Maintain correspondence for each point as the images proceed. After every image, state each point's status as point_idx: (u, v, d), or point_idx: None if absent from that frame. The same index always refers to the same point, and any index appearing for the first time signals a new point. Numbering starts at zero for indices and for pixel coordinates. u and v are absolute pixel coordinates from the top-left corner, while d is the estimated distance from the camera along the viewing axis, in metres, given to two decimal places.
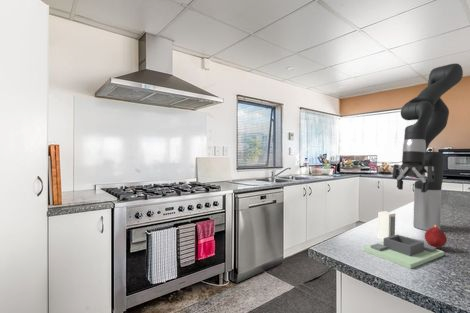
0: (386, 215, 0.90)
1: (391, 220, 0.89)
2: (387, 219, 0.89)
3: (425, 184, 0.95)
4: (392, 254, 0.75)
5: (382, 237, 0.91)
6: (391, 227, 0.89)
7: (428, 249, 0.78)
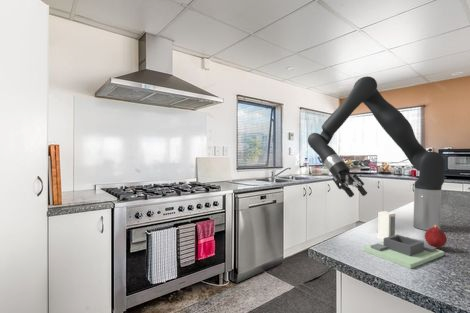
0: (386, 215, 0.90)
1: (391, 220, 0.89)
2: (387, 219, 0.89)
3: None
4: (392, 254, 0.75)
5: (382, 237, 0.91)
6: (391, 227, 0.89)
7: (428, 249, 0.78)
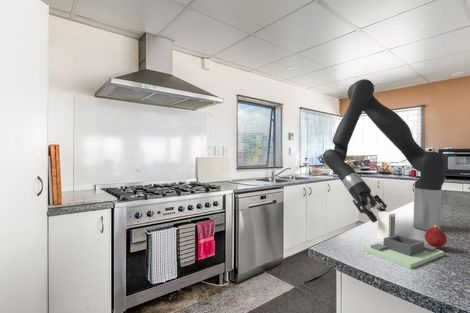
0: (386, 215, 0.90)
1: (391, 220, 0.89)
2: (387, 219, 0.89)
3: None
4: (392, 254, 0.75)
5: (382, 237, 0.91)
6: (391, 227, 0.89)
7: (428, 249, 0.78)
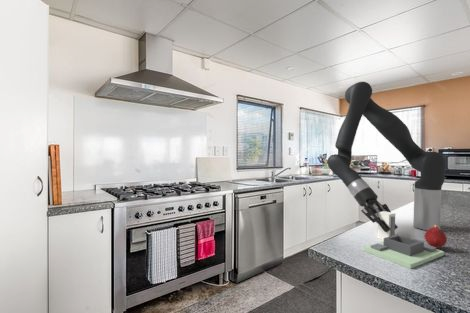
0: (386, 215, 0.90)
1: (391, 220, 0.89)
2: (387, 219, 0.89)
3: None
4: (392, 254, 0.75)
5: (382, 237, 0.91)
6: (391, 227, 0.89)
7: (428, 249, 0.78)
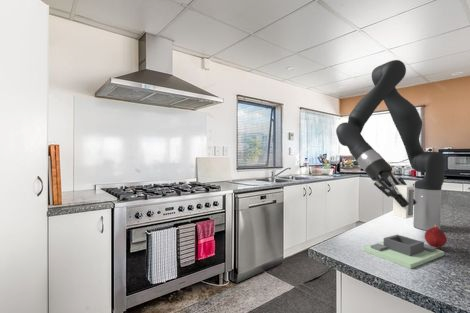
0: (403, 188, 0.77)
1: (409, 193, 0.77)
2: (405, 192, 0.77)
3: (395, 198, 0.78)
4: (392, 254, 0.75)
5: (398, 214, 0.79)
6: (409, 201, 0.77)
7: (428, 249, 0.78)
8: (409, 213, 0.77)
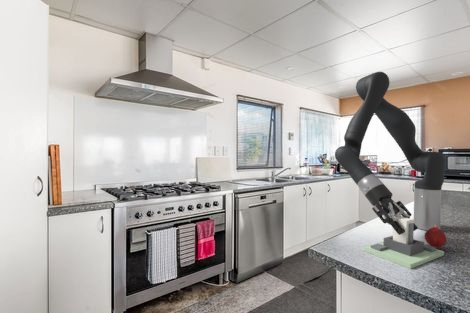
0: (403, 221, 0.77)
1: (409, 227, 0.77)
2: (405, 226, 0.77)
3: None
4: (392, 254, 0.75)
5: None
6: (409, 235, 0.77)
7: (428, 249, 0.78)
8: None
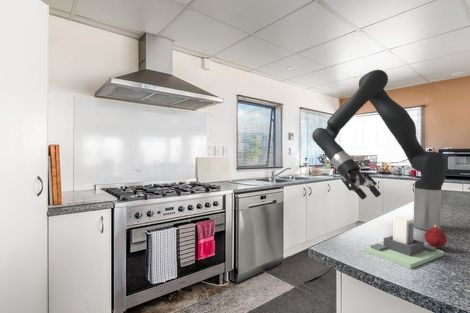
0: (403, 221, 0.77)
1: (409, 227, 0.77)
2: (405, 226, 0.77)
3: None
4: (392, 254, 0.75)
5: None
6: (409, 235, 0.77)
7: (428, 249, 0.78)
8: None
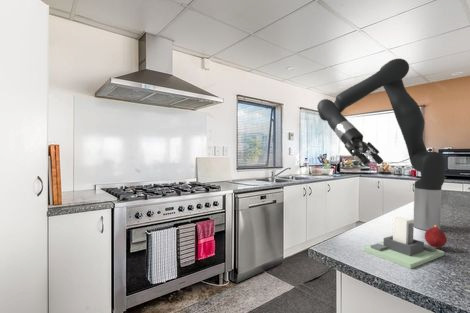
0: (403, 221, 0.77)
1: (409, 227, 0.77)
2: (405, 226, 0.77)
3: (359, 157, 0.92)
4: (392, 254, 0.75)
5: None
6: (409, 235, 0.77)
7: (428, 249, 0.78)
8: None
